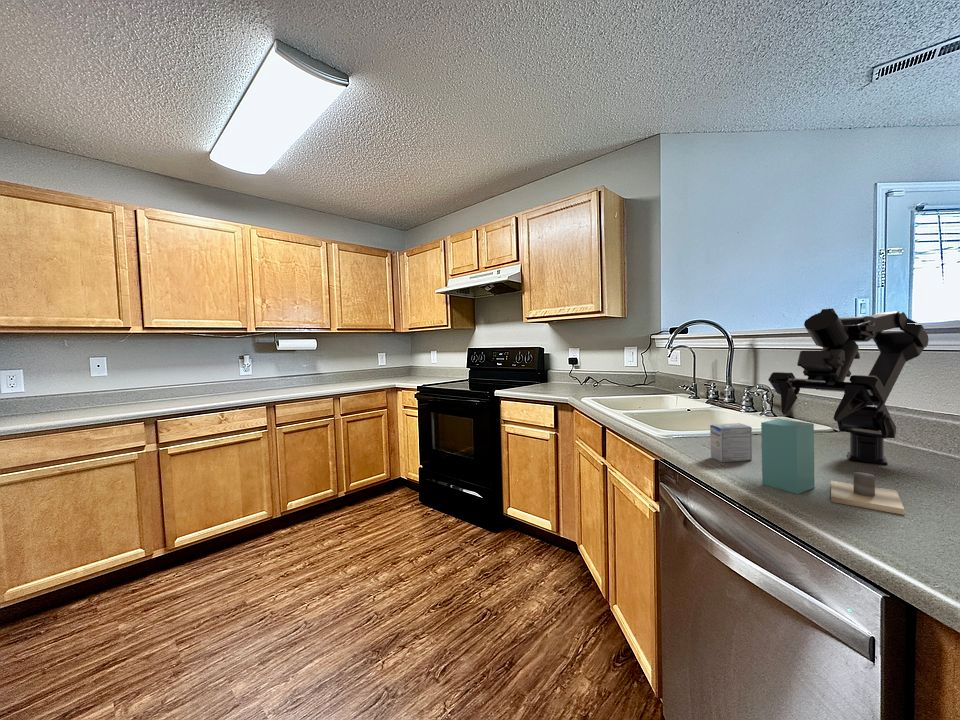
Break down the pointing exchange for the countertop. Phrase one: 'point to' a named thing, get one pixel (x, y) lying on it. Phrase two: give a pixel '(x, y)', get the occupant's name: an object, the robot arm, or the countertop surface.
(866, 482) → the peg stand
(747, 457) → the medicine box
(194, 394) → the countertop surface
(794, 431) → the teal tall cube
